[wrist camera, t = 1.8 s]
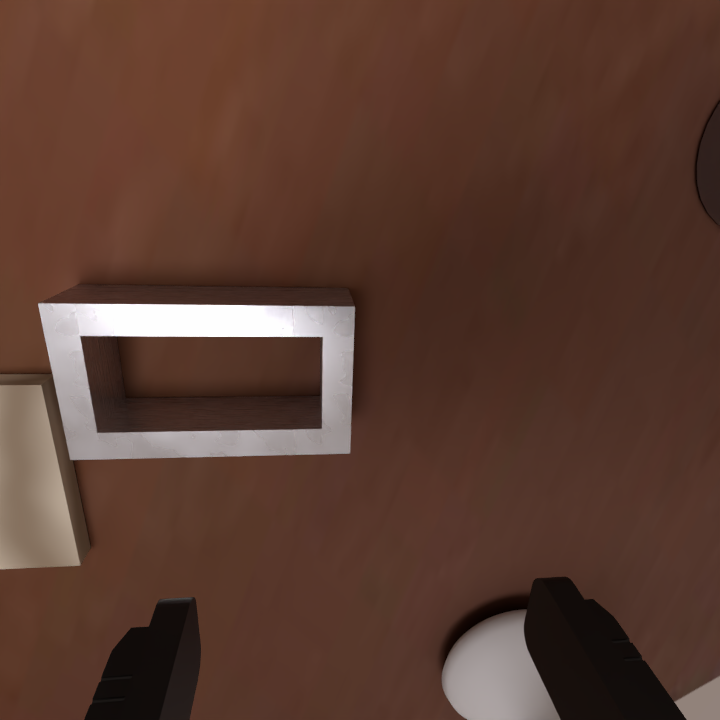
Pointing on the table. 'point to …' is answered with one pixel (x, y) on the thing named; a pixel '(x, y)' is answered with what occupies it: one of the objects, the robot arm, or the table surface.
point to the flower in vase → (496, 673)
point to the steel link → (196, 414)
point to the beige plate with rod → (37, 479)
